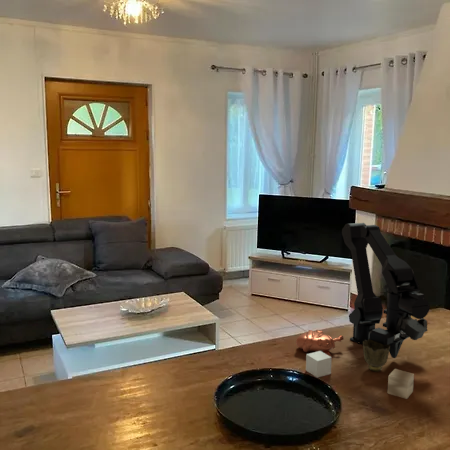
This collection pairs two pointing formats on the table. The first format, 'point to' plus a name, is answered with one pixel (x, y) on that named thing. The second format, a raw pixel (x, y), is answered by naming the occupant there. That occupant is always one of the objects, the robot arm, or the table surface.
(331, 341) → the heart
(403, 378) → the birch block
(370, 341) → the cup
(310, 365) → the grey block
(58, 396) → the table surface
